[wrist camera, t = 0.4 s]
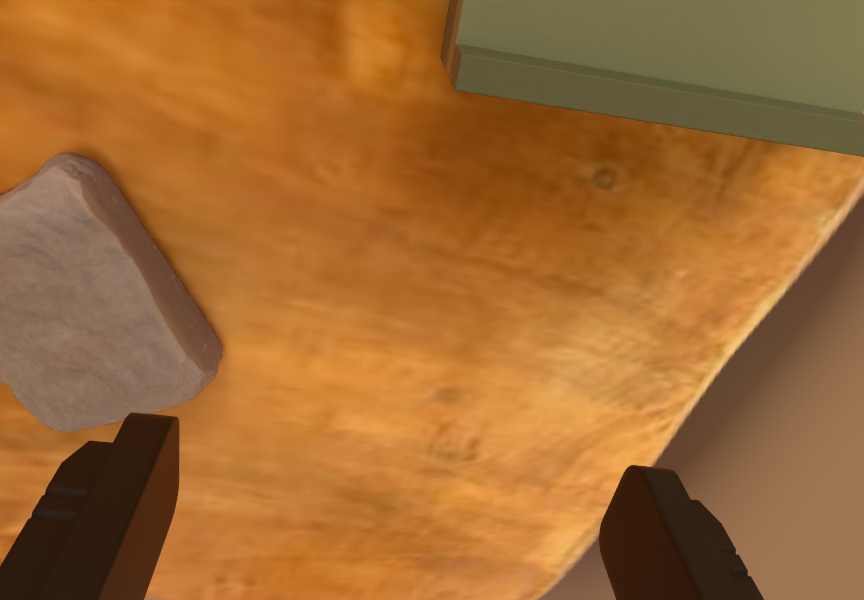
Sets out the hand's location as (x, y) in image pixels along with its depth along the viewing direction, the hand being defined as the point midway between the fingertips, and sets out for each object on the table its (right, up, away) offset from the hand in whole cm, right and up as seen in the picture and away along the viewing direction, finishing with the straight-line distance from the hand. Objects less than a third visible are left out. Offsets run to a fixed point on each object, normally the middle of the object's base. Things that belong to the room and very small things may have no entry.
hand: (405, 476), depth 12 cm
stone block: (-16, +4, +19) cm, 25 cm away
